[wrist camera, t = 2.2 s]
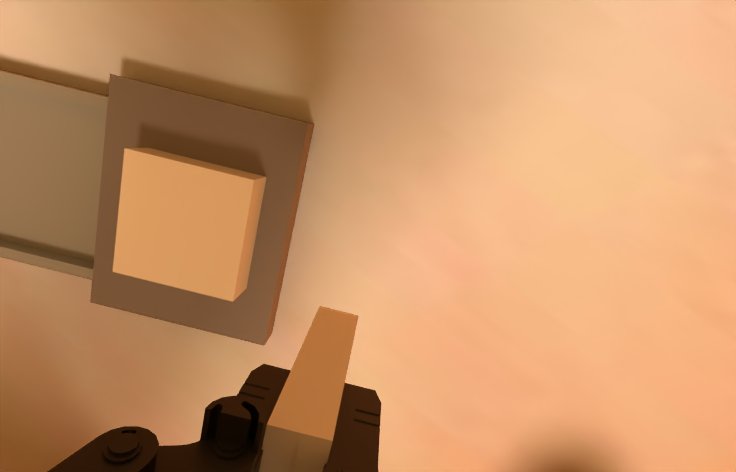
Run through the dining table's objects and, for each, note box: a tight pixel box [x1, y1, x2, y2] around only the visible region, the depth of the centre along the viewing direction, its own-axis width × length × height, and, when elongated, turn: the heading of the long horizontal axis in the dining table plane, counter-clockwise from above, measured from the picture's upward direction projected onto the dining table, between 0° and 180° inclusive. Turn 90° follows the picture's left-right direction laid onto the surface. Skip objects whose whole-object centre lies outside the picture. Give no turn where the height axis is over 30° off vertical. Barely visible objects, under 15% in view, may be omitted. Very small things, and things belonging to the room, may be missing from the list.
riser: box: [91, 74, 314, 345], centre depth 29 cm, size 16×13×2 cm
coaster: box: [113, 148, 266, 302], centre depth 27 cm, size 8×8×2 cm
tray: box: [0, 70, 108, 280], centre depth 29 cm, size 13×12×2 cm
